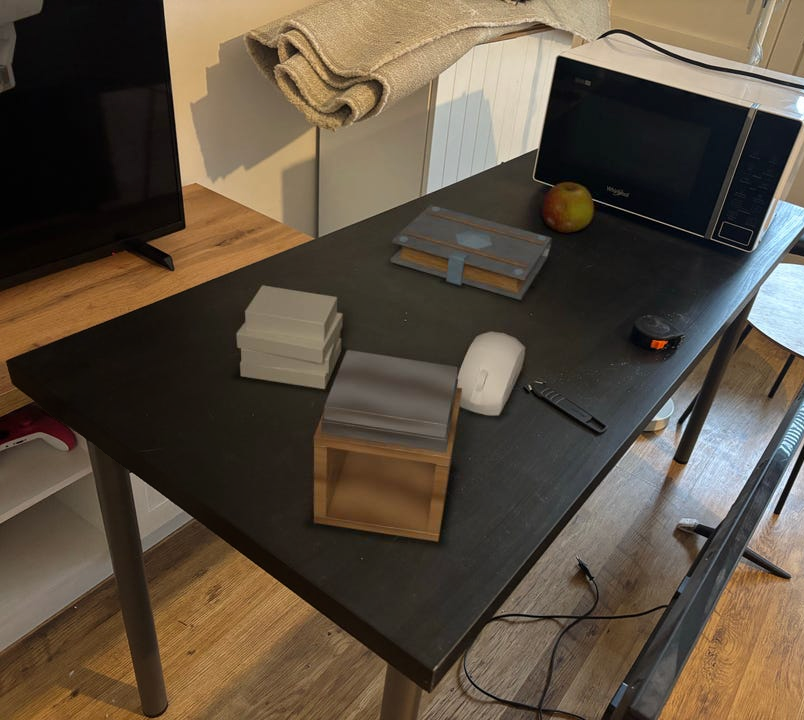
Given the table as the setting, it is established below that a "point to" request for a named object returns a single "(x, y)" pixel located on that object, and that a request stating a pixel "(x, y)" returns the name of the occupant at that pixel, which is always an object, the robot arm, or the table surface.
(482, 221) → the book
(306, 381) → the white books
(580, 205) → the fruit
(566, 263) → the table surface
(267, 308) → the beige flat block
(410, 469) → the oak stand
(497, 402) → the computer mouse
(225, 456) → the table surface
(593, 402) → the table surface
